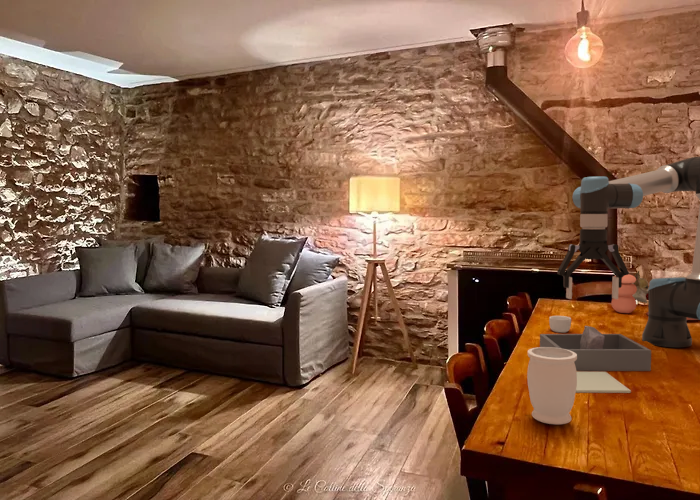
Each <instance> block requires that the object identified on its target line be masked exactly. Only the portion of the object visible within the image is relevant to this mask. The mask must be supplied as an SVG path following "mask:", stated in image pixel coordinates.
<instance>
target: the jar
mask: <svg viewBox="0 0 700 500" xmlns="http://www.w3.org/2000/svg"><path fill="white" fill-rule="evenodd" d="M527 356H528V358H529V361H528V366H527V373H526V376H527V377H526V378H527V379H526V380H527V386H528V392H529V393H528V394H529V398H530V399H529V400H530V404H531V405H532V407H533V410H532V412H531V416H532V417H533V419H535V420H536V421H538V422H541V423H544V424H547V425H548V424H549V425H566V424H568V423H570V422H571V421H572V416H571V414H570V412H571V411H572V409H573V406H574V402H575V399H576V387H577V372H578V371H576V367H575V363H574V361H576V360H577V354H576V353H575V352H573V351H570V350H566V349H562V348H554V347H540V346H538V347H537V346H536V347H532V348H529V349H528V350H527Z"/></svg>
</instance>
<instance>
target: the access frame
mask: <svg viewBox="0 0 700 500" xmlns="http://www.w3.org/2000/svg"><path fill="white" fill-rule="evenodd" d="M582 334H583V333H541V334H539V347H554V348H562V349H566V350H570V351H573V352H575V353H576V354H577V360H576V361H574V363H575V367H576V372H651V370H652V369H651V368H652V349H649V348H648V347H646V346H644V345H643V344H640V343H638V342H637V341H635V340H633V339H631V338H630V337H627V336H625V335H623V334H621V333H602V334H603V335H604V336H605V340H604V345H603V349H580V348H581V345H580V341H581V337H582Z"/></svg>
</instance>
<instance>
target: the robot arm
mask: <svg viewBox="0 0 700 500" xmlns="http://www.w3.org/2000/svg"><path fill="white" fill-rule="evenodd" d="M675 192H676V193H677V192H695V196H696V197H697V199H698V200H699V201H700V156H692V157H688V158H685V159H681V160H679V161H675V162H671V163H668V164H665V165H661V166H659V167H658V168H656V170H652V171H651V170H650V171H647V172H644V173H643V172H642V173H638V174H635V175H630V176H626V177H621V178H617V179H612V180H609V178H608V177H607V176H603V175H602V176H596V175H595V176H587V177H583V178H582V179H581V181H580V186H578V187H577V188H576V189H575V190H574V191H573V193H572V202H573V204H574V206H575V207H576V208H578V209H580V215H579V216H580V217H579V219H580V221H579V222H580V223H579V226H580V227H581V229H580V230H579V244H578V245H577V244H571V243H569V244H568V247H567V253H566V254H565V255H564V258H563V260H562V262H561V264H560V266H559V268H558V269H557V271H556V273H557V275H559V276H562V277H563V278H562V279H563V280H562V281H563V282H562V283H563V288H566V289H565V291H566V293H565V298H566V299H568V300H572V299H573V298H572V297H573V292H572V291H573V277H572V276H571V275H572V274H573V273H574V272H575V271H576V269H577V268H578V267H580V265H581V264H582V263H583V262H584V261H585V260H601V261H602V262H603V263H604V264H605V266H607V267H608V268H609V270H610V271H611V272H612V273H613V274H614V276H616V277H614V276H612V282H611V283H612V284H611V285H612V286H611V299H613V298H614V299H618V289H619V288H621V286H622V277H623V276H625V275H628V274H629V275H630V273H629V270H628V268H627V267H626V264H625V262H624V260H623V258H622V256H621V254H620V252H619V245H618V244H617V243H615V244H614V243H612V244H608V243H607V242H608V230H607V229H606V228H607V227H608V223H609V222H608V216H609V215H608V213H609V212H608V211H609V209H627V210H628V209H634V208H637V207H639V206H640V205H641V204H642V202H643V200H644V197H646V196H649V195H654V194H657V193H658V194H659V193H664V194H670V193H675ZM577 251H579V252H580V253H579V255H578V256H577V257H576V258H575V260H573V262H572V263H571V260H572V259H573V256H574V255H575V253H576V252H577ZM608 251H609V252H610V253H611V254H612V257H613V259H614V261H615V264H616V265H617V266H616V265H615V264H614V263H613V262H612V260H611V259H610V258H609V256H608V255H607V254H606V253H607V252H608ZM692 257H693V259H692V266H691V272H690V273H689V274H687V276H681V277H679V276H677V277H656V278H652V279H651V280H650V281H649V282H648V284H649V285H648V287H649V289H648V293H647V294H648V298H647V299H648V300H647V304H648V305H647V307H648V311H647V312H648V314H647V316H648V317H647V321H646V324H645V327H644V329H643V331H642V335H641V336H642V337H641V340H642V341H643V342H647V343H649V344H651V345H653V346H657V347H667V348H687V347H691V346H692V345H693V344H692V343H693V338H692V335H691V332H690V329H689V326H688V323H687V320H686V318H687V317H688V318H693V319H697V320H699V321H700V205H699V207H698V216H697V224H696V233H695V241H694V251H693V256H692ZM570 263H571V264H570Z"/></svg>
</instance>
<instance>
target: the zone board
mask: <svg viewBox="0 0 700 500" xmlns="http://www.w3.org/2000/svg"><path fill="white" fill-rule="evenodd" d="M576 372H577V387H576V393H577V394H580V393H581V394H582V393H583V394H586V393H589V394H590V393H591V394H595V393H596V394H598V393H599V394H605V393H606V394H613V393H614V394H615V393H616V394H618V393H619V394H620V393H621V394H622V393H623V394H627V393H628V394H630V393H632V390H631V389H629V388H628V387H627V386H626V385H624V384H623V383H621V382H620V381H619V380H618V379H616V378H615V377H614V376H612V375H611V374H609V373H608V372H607V371H576ZM576 393H575V394H576Z"/></svg>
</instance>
